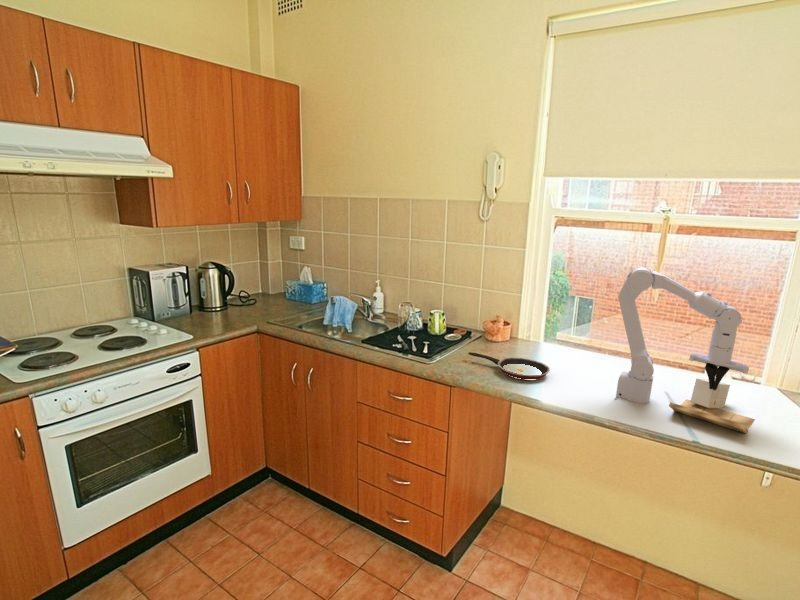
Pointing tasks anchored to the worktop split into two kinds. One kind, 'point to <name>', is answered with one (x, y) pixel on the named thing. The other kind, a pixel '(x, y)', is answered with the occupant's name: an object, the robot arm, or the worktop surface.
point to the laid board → (720, 413)
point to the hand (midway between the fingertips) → (713, 388)
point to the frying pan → (501, 363)
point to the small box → (709, 394)
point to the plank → (709, 417)
